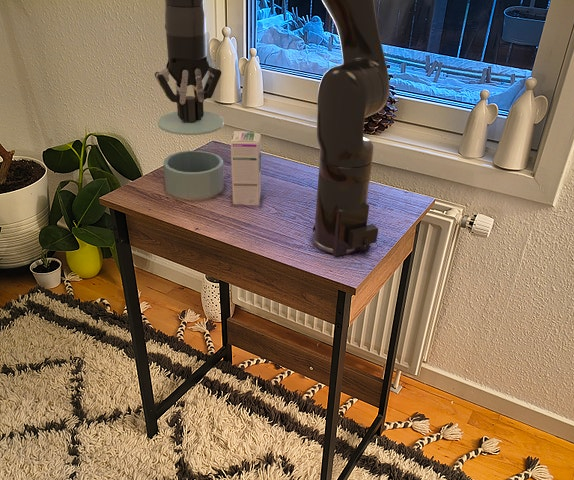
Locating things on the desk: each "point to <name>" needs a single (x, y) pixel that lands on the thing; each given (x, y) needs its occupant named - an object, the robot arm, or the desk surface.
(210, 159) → the pot
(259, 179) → the syrup box
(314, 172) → the desk surface
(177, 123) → the lid
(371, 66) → the robot arm
